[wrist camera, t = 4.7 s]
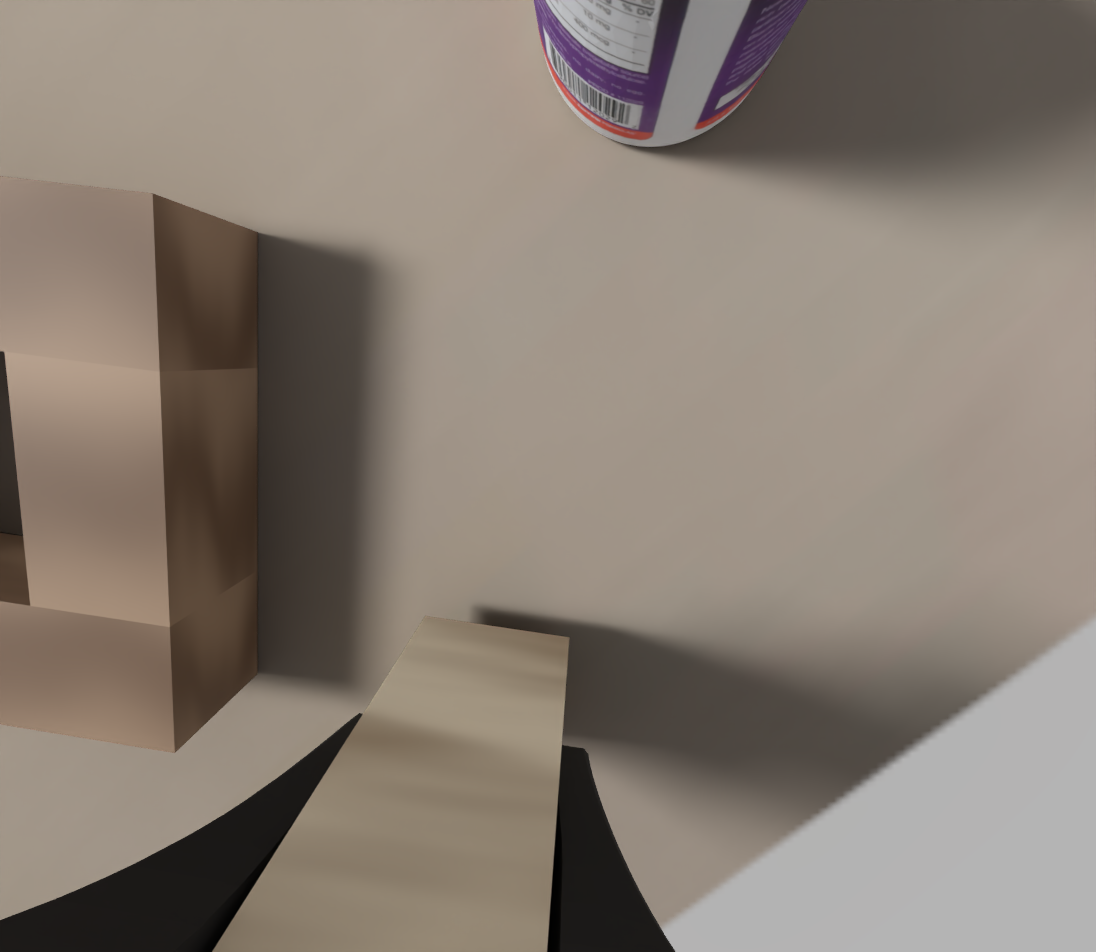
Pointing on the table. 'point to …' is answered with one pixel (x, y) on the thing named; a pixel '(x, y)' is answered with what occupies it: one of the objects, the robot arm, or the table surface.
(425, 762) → the peg
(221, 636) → the socket block
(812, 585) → the table surface
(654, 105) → the pill bottle
